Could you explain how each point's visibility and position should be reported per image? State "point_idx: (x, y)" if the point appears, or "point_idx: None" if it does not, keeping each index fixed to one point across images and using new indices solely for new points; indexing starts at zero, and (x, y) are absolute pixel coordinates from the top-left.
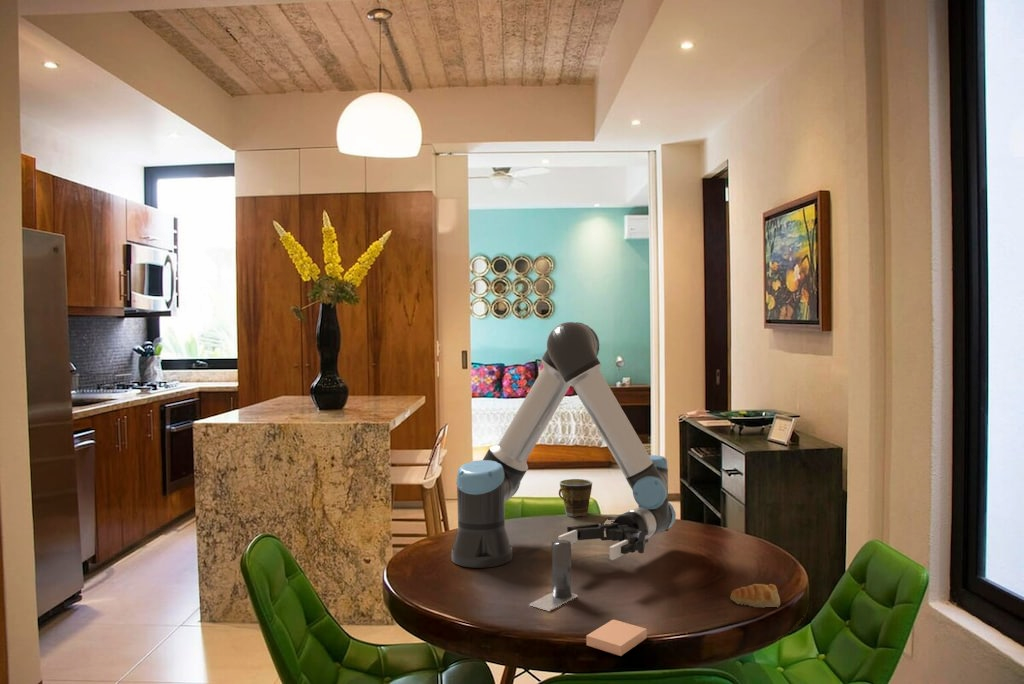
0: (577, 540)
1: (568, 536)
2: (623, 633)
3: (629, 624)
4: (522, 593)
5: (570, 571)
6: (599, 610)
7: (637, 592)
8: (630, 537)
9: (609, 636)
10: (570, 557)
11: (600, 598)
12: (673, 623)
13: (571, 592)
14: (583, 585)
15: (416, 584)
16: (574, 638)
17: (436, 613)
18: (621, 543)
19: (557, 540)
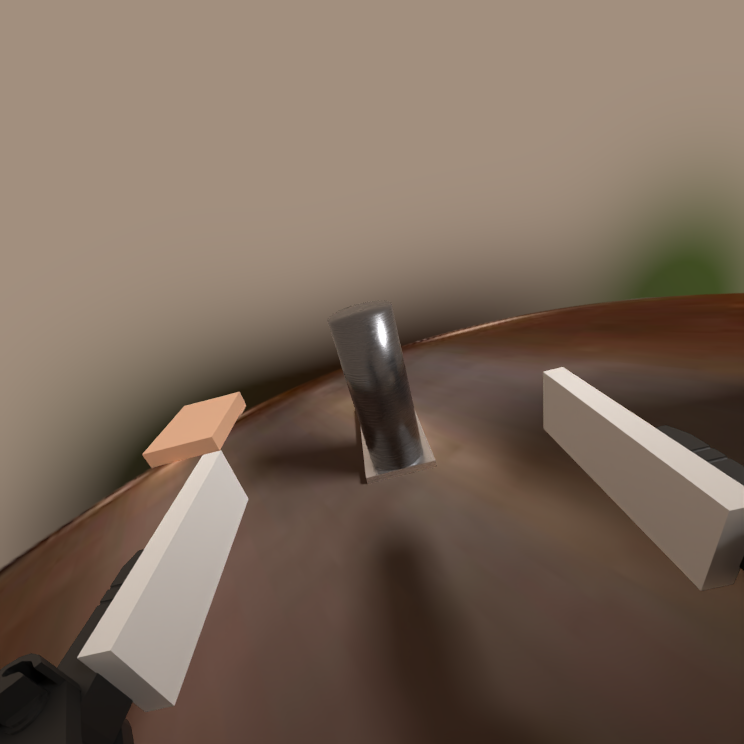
0: (704, 582)
1: (598, 430)
2: (184, 423)
3: (176, 444)
4: (485, 409)
5: (353, 402)
6: (274, 476)
7: (189, 699)
8: (24, 678)
9: (205, 408)
10: (342, 366)
11: (306, 525)
12: (74, 552)
13: (372, 458)
14: (430, 564)
15: (648, 313)
16: (269, 401)
17: (479, 325)
18: (152, 539)
19: (384, 308)
